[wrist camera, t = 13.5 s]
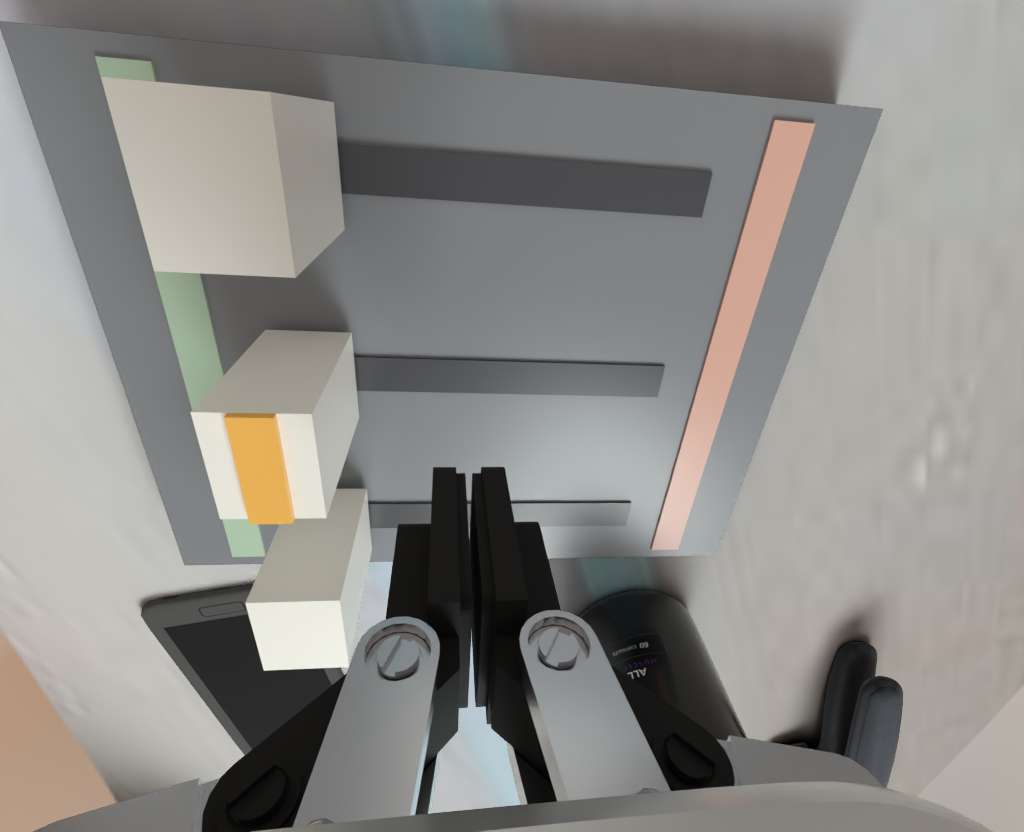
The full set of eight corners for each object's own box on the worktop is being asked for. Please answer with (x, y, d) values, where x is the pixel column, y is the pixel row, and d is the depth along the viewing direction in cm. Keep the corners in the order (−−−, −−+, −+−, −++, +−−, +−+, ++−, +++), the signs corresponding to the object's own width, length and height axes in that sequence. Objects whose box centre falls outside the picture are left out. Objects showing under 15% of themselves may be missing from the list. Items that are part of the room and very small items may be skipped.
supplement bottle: (587, 578, 25) (678, 892, 15) (708, 591, 27) (867, 885, 16) (550, 663, 29) (603, 970, 18) (659, 670, 30) (767, 959, 20)
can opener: (836, 771, 39) (889, 862, 35) (749, 784, 39) (790, 877, 34) (911, 624, 30) (997, 719, 26) (799, 639, 30) (865, 738, 25)
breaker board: (696, 524, 24) (716, 557, 22) (206, 529, 21) (183, 567, 20) (836, 110, 16) (885, 108, 14) (57, 33, 13) (-6, 19, 11)
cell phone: (298, 570, 24) (294, 582, 23) (374, 729, 31) (372, 742, 30) (141, 595, 24) (132, 608, 23) (253, 749, 31) (249, 763, 30)
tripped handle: (359, 417, 17) (324, 523, 12) (280, 416, 17) (216, 525, 12) (351, 332, 15) (309, 418, 11) (265, 329, 15) (186, 416, 11)
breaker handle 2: (371, 549, 20) (349, 667, 16) (305, 550, 20) (263, 670, 15) (366, 488, 18) (340, 600, 14) (295, 488, 18) (245, 603, 14)
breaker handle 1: (344, 229, 14) (295, 277, 10) (249, 224, 14) (154, 271, 9) (333, 102, 12) (269, 91, 8) (226, 92, 12) (101, 77, 8)
